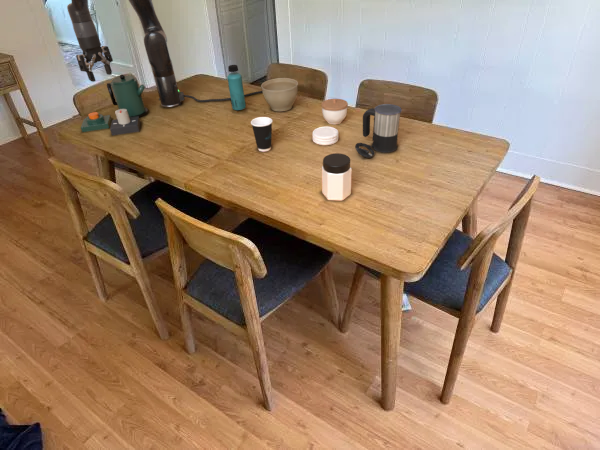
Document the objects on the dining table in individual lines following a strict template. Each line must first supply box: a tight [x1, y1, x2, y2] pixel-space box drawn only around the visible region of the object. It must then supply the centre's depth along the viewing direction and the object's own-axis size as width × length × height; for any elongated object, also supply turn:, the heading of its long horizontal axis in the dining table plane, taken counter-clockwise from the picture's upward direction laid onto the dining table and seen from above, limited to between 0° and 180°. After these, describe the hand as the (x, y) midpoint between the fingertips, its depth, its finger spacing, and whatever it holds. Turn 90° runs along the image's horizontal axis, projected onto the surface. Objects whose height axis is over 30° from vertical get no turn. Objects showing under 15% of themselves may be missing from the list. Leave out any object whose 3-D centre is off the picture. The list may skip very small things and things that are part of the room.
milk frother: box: [354, 103, 402, 159], centre depth 145 cm, size 14×16×15 cm
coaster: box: [311, 125, 339, 146], centre depth 157 cm, size 10×10×4 cm
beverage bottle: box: [226, 64, 247, 111], centre depth 180 cm, size 6×7×20 cm
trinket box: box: [320, 98, 349, 125], centre depth 169 cm, size 11×11×9 cm
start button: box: [87, 111, 100, 119], centre depth 178 cm, size 4×4×2 cm
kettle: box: [106, 74, 149, 119], centre depth 183 cm, size 18×13×18 cm
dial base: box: [109, 116, 141, 136], centre depth 175 cm, size 11×10×3 cm
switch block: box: [80, 113, 113, 133], centre depth 179 cm, size 11×10×4 cm
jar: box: [321, 152, 353, 201], centre depth 125 cm, size 9×8×12 cm
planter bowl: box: [260, 77, 299, 112], centre depth 183 cm, size 16×16×11 cm
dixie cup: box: [250, 116, 273, 152], centre depth 152 cm, size 8×8×11 cm
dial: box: [114, 108, 130, 125], centre depth 173 cm, size 5×5×5 cm
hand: (101, 77), depth 164 cm, fingers open, 8 cm apart
